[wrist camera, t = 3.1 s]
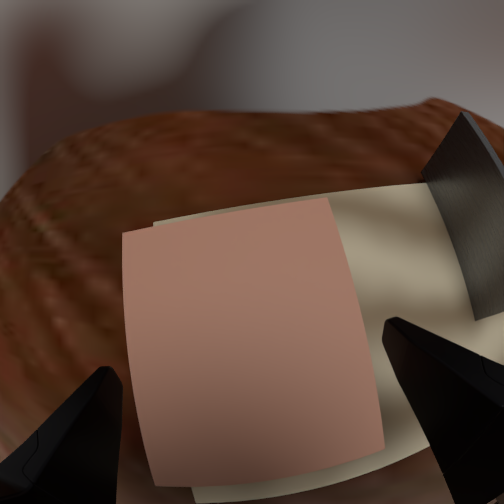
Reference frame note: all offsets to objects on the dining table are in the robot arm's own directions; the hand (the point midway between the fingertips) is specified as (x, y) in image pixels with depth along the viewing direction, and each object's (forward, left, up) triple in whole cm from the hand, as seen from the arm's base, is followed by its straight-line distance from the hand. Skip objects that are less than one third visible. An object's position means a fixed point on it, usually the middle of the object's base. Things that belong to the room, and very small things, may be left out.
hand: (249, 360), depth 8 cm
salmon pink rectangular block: (0, 0, -7) cm, 7 cm away
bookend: (+4, -16, -7) cm, 18 cm away
